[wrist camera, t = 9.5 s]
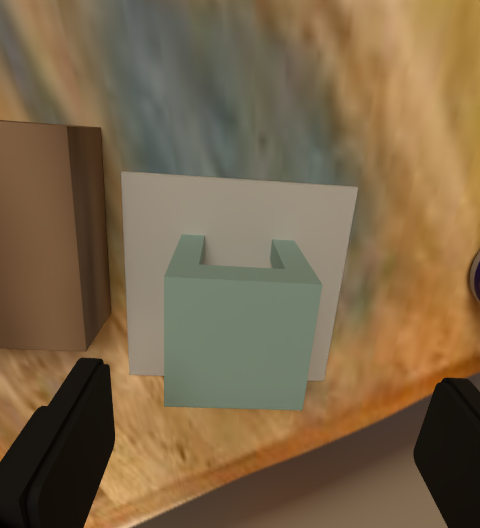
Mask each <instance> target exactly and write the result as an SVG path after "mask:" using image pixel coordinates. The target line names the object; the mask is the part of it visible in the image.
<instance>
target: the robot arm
mask: <svg viewBox="0 0 480 528" xmlns="http://www.w3.org/2000/svg"><path fill="white" fill-rule="evenodd" d="M114 442H115V428H114V415H113V403H112V390H111V378H110V367H109V365H108V364H104V363H103V360H102V359H97V358H80V359H79V360H78V361H77V362H76V364H75V366H74V367H73V369H72V370H71V372H70V373H69V375H68V376H67V378H66V379H65V381H64V382H63V384H62V385H61V387H60V388H59V390H58V391H57V393H56V394H55V396H54V397H53V399H52V400H51V402H50V404H49V405H48V406H41V407H39V408H38V409H37V410H36V411H35V412H34V414H33V415H32V417H31V418H30V419H29V421H28V422H27V424H26V425H25V427H24V428H23V430H22V431H21V433H20V434H19V435H18V437H17V438H16V440H15V441H14V443H13V444H12V446H11V447H10V449H9V450H8V451H7V453H6V454H5V456H4V457H3V459H2V460H1V462H0V528H83V527H84V525H85V522H86V519H87V517H88V514H89V511H90V509H91V506H92V504H93V501H94V498H95V496H96V493H97V490H98V488H99V485H100V482H101V480H102V477H103V474H104V472H105V469H106V466H107V464H108V461H109V458H110V456H111V453H112V450H113V447H114ZM414 460H415V463H416V466H417V468H418V470H419V471H420V473H421V475H422V477H423V479H424V481H425V483H426V485H427V487H428V489H429V491H430V493H431V495H432V497H433V499H434V501H435V503H436V505H437V507H438V509H439V510H440V513H441V515H442V517H443V518H444V521H445V522H446V524H447V526H448V528H480V392H479V391H478V389H477V388H476V387H475V386H474V385H473V384H472V383H471V382H470V381H469V380H468V379H463V378H444V379H443V380H442V381H441V382H440V383H438V384H437V385H436V387H435V390H434V392H433V395H432V398H431V401H430V404H429V407H428V410H427V413H426V416H425V419H424V422H423V425H422V427H421V430H420V434H419V436H418V439H417V442H416V445H415V448H414Z"/></svg>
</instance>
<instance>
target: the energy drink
mask: <svg viewBox="0 0 480 528" xmlns="http://www.w3.org/2000/svg"><path fill="white" fill-rule="evenodd" d="M470 287H471V290H472V293H473V295H474V297H475V298H476V300H477V301H478V302H479V303H480V251H479V252H478V254H477V255H476V257H475V259H474V261H473V264H472V267H471V271H470Z"/></svg>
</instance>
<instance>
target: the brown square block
mask: <svg viewBox="0 0 480 528" xmlns="http://www.w3.org/2000/svg"><path fill="white" fill-rule="evenodd" d="M110 313H111V300H110V283H109V266H108V248H107V231H106V214H105V196H104V179H103V162H102V144H101V128H100V127H86V126H72V125H59V124H45V123H31V122H18V121H4V120H0V348H7V349H35V350H63V351H87V349H88V348H89V346H90V345H91V343H92V342H93V340H94V338H95V337H96V335H97V334H98V332H99V330H100V329H101V327H102V326H103V324H104V323H105V321H106V319H107V318H108V316H109V315H110Z"/></svg>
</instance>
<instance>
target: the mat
mask: <svg viewBox="0 0 480 528" xmlns="http://www.w3.org/2000/svg"><path fill="white" fill-rule="evenodd" d="M121 183H122V207H123V232H124V256H125V280H126V304H127V328H128V353H129V375H155V376H164V275H165V273H166V271H167V268H168V266H169V263H170V261H171V259H172V256H173V254H174V252H175V249H176V247H177V244H178V242H179V240H180V237H181V235H182V234H189V235H205V239H204V259H203V265H217V266H236V267H256V268H272V265H271V262H270V254H271V244H272V239H277V240H294V241H295V243H296V244H297V246H298V247H299V249H300V250H301V252H302V253H303V255H304V257H305V258H306V260H307V261H308V263H309V264H310V266H311V267H312V269H313V271H314V272H315V274H316V275H317V277H318V278H319V280H320V281H321V283H322V291H321V297H320V303H319V310H318V316H317V322H316V328H315V335H314V341H313V347H312V353H311V360H310V366H309V372H308V379H307V380H310V381H324V377H325V371H326V366H327V360H328V354H329V349H330V343H331V337H332V332H333V326H334V321H335V315H336V309H337V304H338V298H339V293H340V287H341V281H342V276H343V270H344V264H345V259H346V253H347V248H348V242H349V236H350V231H351V225H352V219H353V214H354V208H355V203H356V197H357V191H358V187H354V186H339V185H324V184H309V183H294V182H278V181H263V180H248V179H233V178H218V177H203V176H187V175H172V174H157V173H142V172H127V171H123V172H121Z"/></svg>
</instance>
